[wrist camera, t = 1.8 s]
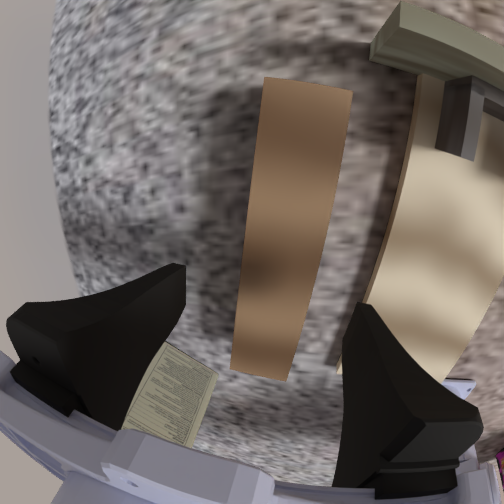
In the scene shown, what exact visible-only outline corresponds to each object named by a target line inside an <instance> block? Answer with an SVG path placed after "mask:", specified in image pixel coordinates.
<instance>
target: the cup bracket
mask: <svg viewBox="0 0 504 504" xmlns="http://www.w3.org/2000/svg"><path fill="white" fill-rule="evenodd" d="M369 61H371V62H375V63H379V64H383V65H386V66H390V67H393V68H396V69H400V70H403V71H406V72H409V73H412V74H415V75H418V76H417V85H416V93H415V100H414V107H413V113H412V119H411V125H410V131H409V136H408V142H407V147H406V152H405V157H404V161H403V166H402V170H401V175H400V179H399V183H398V188H397V192H396V196H395V199H394V203H393V207H392V211H391V215H390V218H389V222H388V225H387V229H386V232H385V236H384V239H383V242H382V245H381V249H380V252H379V255H378V258H377V261H376V264H375V267H374V270H373V273H372V276H371V279H370V282H369V285H368V288H367V290H366V293H365V296H364V299H363V301H362V303H366V304H371V305H372V306H373V307H374V309H375V310H376V311H377V313H378V314H379V316H380V317H381V318H382V320H383V321H384V323H385V324H386V325H387V327H388V328H389V330H390V331H391V332H392V334H393V335H394V336H395V338H396V339H397V340H398V341H399V343H400V344H401V345H402V346H403V348H404V349H405V350H406V351H407V352H408V353H409V355H410V356H411V357H412V358H413V359H414V360H415V361H416V362H417V363H418V364H419V365H420V366H421V367H422V368H423V369H424V370H425V371H426V372H427V373H428V374H429V375H431V376H432V377H433V378H434V379H435V380H436V381H438V382H439V383H440V384H441V383H442V382H443V380H444V379H445V378H446V376H447V375H448V373H449V372H450V371H451V369H452V368H453V366H454V365H455V363H456V362H457V360H458V359H459V357H460V356H461V354H462V352H463V351H464V349H465V348H466V346H467V344H468V343H469V341H470V340H471V338H472V336H473V334H474V333H475V331H476V329H477V328H478V326H479V324H480V322H481V320H482V319H483V317H484V315H485V313H486V311H487V309H488V307H489V305H490V303H491V301H492V299H493V297H494V295H495V293H496V291H497V289H498V287H499V285H500V283H501V281H502V278H503V276H504V47H503V46H501V45H500V44H498V43H496V42H495V41H493V40H491V39H489V38H487V37H486V36H484V35H482V34H480V33H478V32H476V31H474V30H472V29H470V28H468V27H466V26H464V25H462V24H460V23H457V22H455V21H453V20H451V19H448V18H446V17H444V16H441V15H439V14H436V13H434V12H431V11H429V10H426V9H423V8H420V7H418V6H415V5H412V4H409V3H406V2H403V1H400V2H399V4H398V5H397V7H396V8H395V9H394V11H393V12H392V14H391V15H390V17H389V18H388V19H387V21H386V22H385V24H384V25H383V26H382V28H381V29H380V31H379V32H378V34H377V35H376V36H375V38H374V39H373V41H372V42H371V47H370V56H369ZM337 374H342V353H341V356H340V358H339V360H338V363H337Z"/></svg>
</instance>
